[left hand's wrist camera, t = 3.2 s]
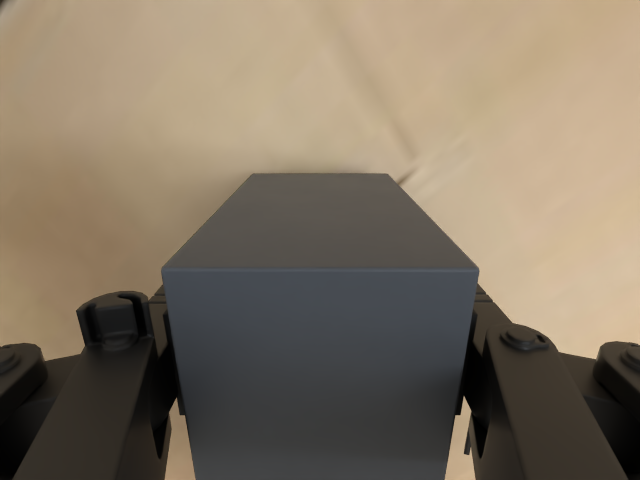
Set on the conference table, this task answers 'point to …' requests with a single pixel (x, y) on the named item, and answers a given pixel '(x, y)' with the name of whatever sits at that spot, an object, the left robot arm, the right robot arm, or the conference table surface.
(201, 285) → the bar
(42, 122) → the conference table surface
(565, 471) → the left robot arm
